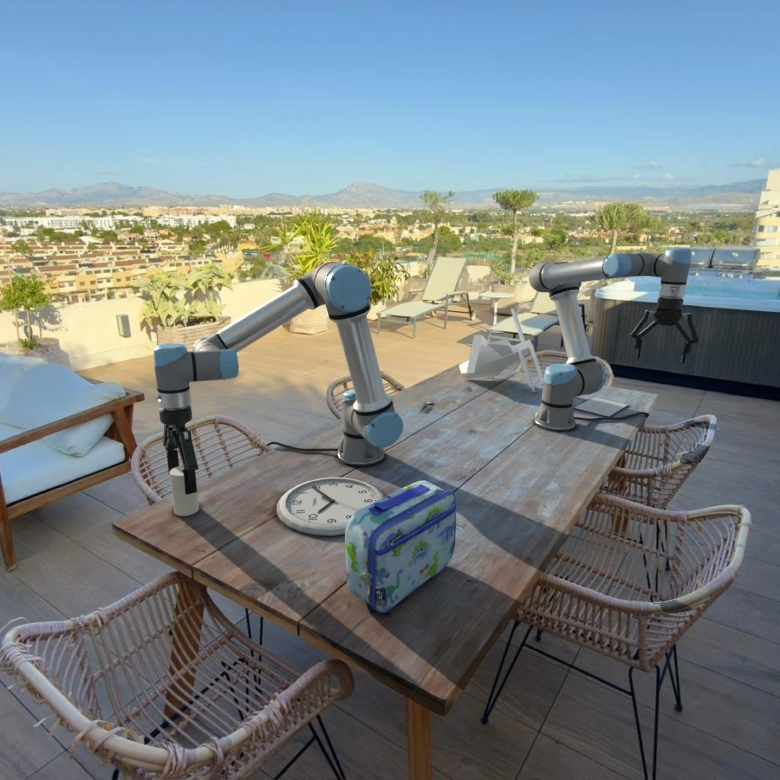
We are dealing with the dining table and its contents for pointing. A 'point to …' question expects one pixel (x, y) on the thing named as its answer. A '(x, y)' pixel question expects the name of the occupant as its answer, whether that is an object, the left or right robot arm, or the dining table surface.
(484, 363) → the white plastic object
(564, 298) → the right robot arm
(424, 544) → the lunch box
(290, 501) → the wall clock
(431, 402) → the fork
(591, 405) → the invitation card
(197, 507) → the canister
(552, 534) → the dining table surface
